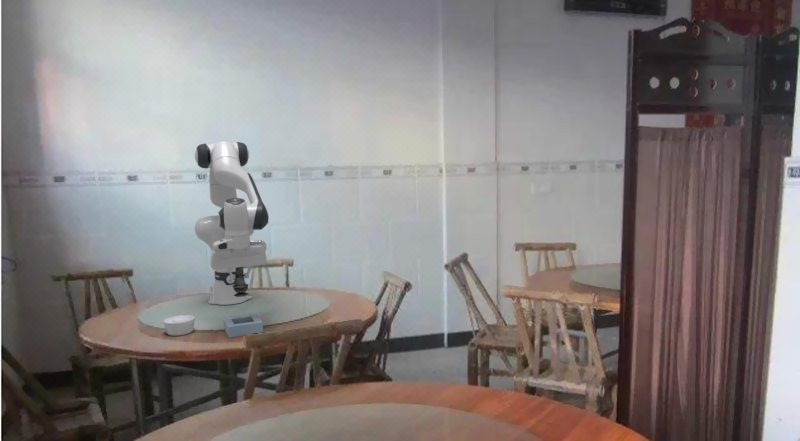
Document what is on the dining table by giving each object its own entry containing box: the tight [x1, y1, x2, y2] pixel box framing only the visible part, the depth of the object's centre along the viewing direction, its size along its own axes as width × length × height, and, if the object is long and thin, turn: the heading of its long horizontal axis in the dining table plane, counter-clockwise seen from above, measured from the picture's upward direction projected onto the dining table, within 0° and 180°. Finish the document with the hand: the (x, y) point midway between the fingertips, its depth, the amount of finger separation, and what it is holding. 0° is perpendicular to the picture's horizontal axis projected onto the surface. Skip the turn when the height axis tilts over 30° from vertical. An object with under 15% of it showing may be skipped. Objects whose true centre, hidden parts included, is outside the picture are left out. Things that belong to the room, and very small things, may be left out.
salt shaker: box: [233, 267, 249, 297], centre depth 233 cm, size 6×6×12 cm
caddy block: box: [223, 313, 264, 339], centre depth 235 cm, size 12×12×4 cm
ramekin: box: [163, 314, 196, 337], centre depth 236 cm, size 11×11×5 cm
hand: (240, 278), depth 233 cm, fingers closed on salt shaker, 4 cm apart
